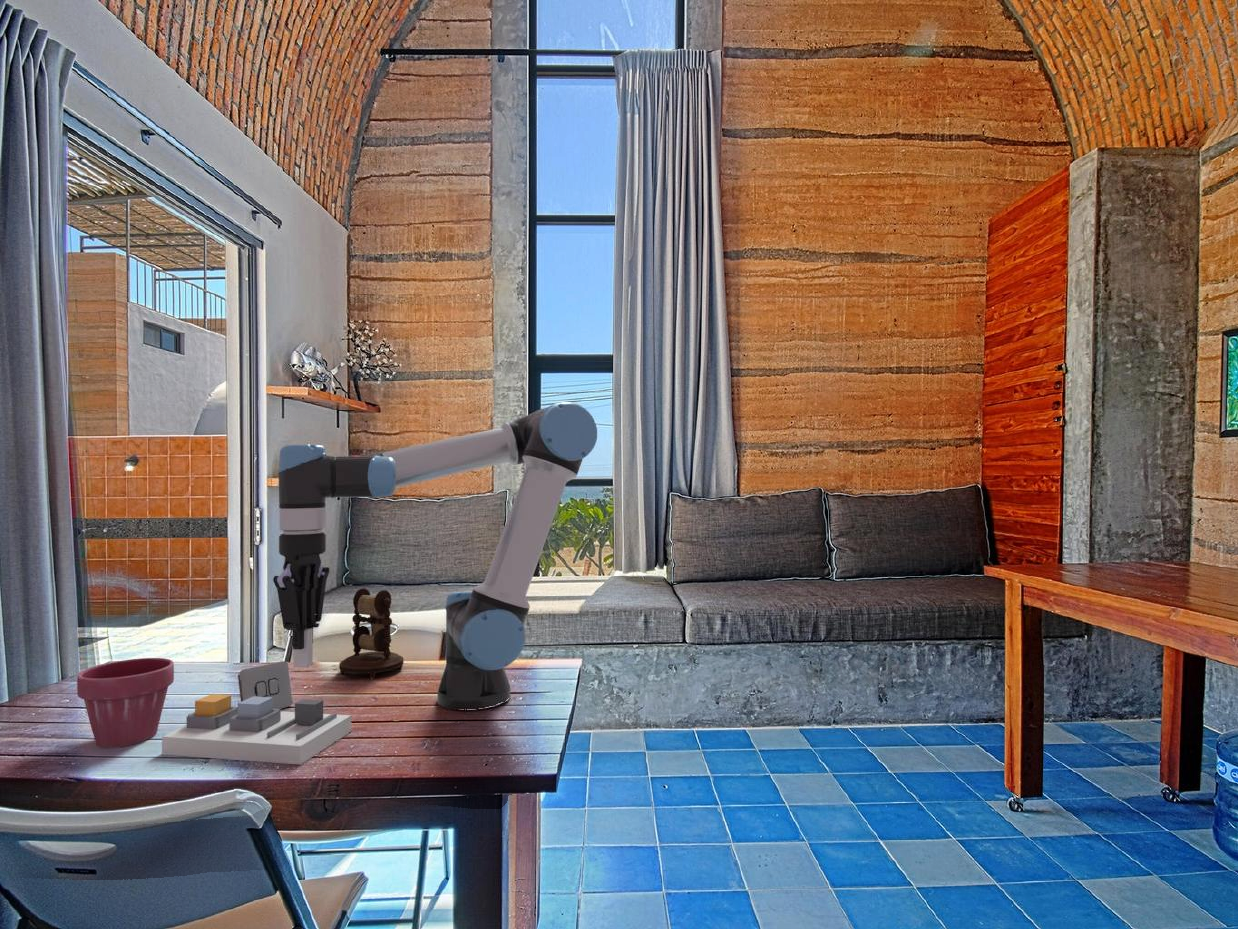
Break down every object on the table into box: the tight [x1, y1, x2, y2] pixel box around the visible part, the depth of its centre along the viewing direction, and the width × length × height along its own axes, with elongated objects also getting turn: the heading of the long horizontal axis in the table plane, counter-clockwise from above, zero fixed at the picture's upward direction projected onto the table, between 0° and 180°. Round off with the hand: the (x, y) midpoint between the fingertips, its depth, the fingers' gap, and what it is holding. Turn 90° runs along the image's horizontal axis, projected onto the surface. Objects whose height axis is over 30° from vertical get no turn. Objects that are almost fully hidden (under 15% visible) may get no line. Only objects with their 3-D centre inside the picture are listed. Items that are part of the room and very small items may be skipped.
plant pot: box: [76, 657, 175, 748], centre depth 126 cm, size 14×14×13 cm
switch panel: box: [161, 705, 352, 765], centre depth 123 cm, size 26×15×5 cm, turn 80°
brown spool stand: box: [338, 588, 404, 679], centre depth 170 cm, size 15×15×20 cm
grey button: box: [237, 696, 273, 719], centre depth 124 cm, size 4×4×3 cm
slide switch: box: [294, 698, 324, 725], centre depth 124 cm, size 4×2×4 cm, turn 80°
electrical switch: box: [237, 660, 294, 709], centre depth 141 cm, size 9×5×9 cm, turn 141°
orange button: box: [194, 693, 232, 716], centre depth 125 cm, size 4×4×3 cm
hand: (303, 666), depth 122 cm, fingers closed
